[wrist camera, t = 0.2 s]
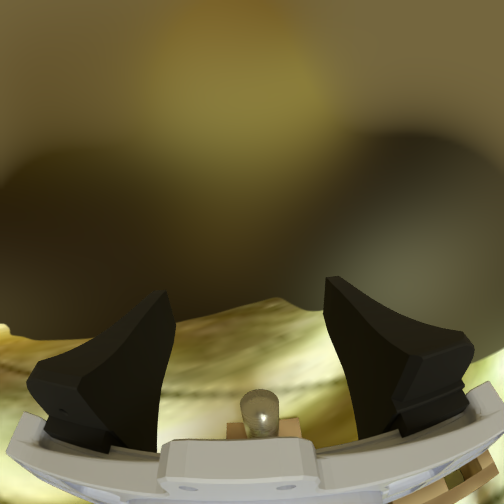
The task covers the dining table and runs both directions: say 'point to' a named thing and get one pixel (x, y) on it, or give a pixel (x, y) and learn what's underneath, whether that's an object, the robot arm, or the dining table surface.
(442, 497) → the wooden rectangular frame
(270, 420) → the pin
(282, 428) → the cork coaster
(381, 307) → the robot arm
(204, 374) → the dining table surface
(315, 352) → the dining table surface
